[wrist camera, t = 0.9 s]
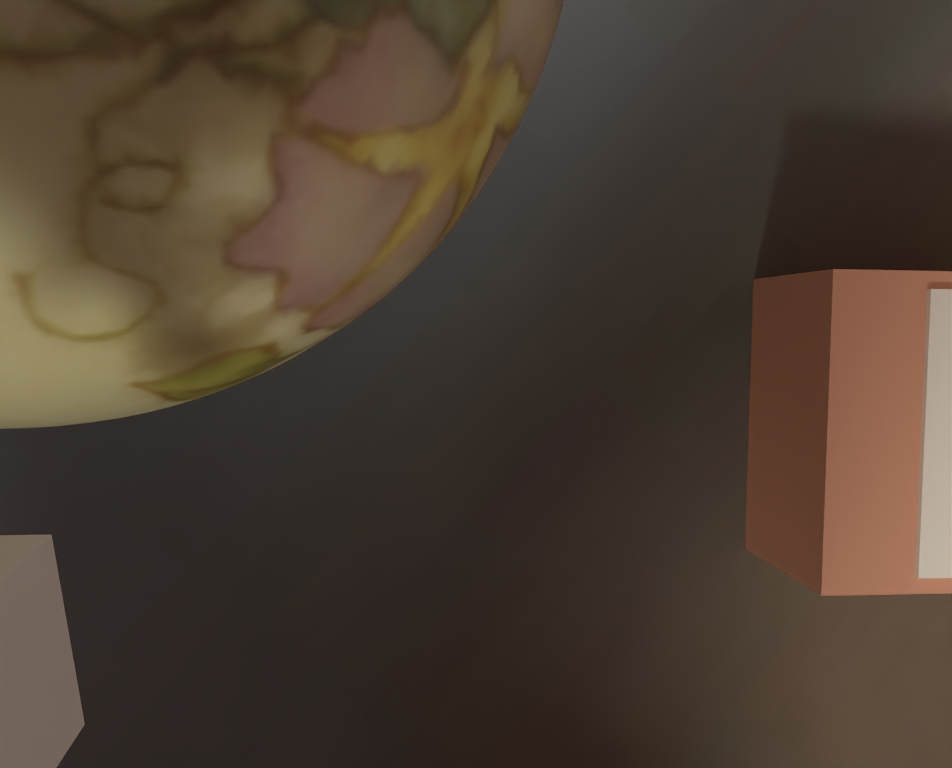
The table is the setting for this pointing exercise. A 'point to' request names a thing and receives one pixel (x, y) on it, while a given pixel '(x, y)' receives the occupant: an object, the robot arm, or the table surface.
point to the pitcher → (230, 180)
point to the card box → (852, 430)
